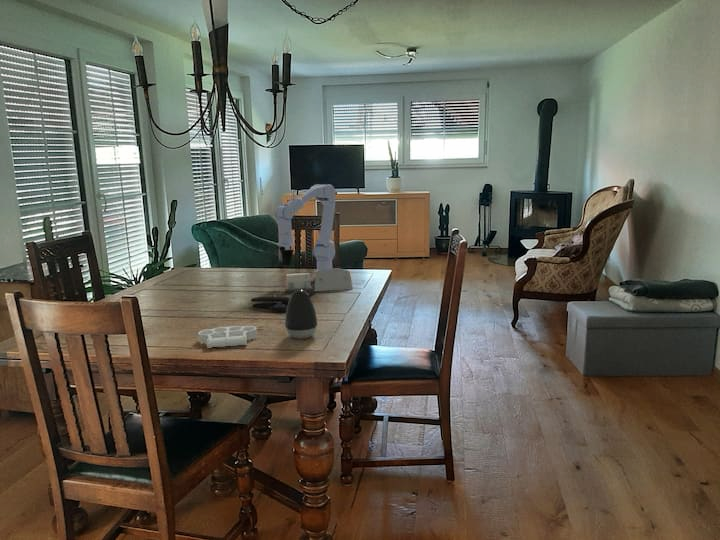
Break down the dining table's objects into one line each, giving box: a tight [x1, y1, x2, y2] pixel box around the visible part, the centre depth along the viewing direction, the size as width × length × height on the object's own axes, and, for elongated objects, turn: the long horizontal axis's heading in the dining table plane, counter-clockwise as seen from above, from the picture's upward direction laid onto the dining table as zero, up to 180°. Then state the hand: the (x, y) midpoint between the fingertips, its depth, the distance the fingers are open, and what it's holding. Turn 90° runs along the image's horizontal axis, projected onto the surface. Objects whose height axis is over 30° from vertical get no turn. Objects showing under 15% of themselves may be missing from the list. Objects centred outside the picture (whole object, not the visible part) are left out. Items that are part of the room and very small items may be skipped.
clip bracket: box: [285, 280, 314, 294], centre depth 236 cm, size 7×11×4 cm, turn 103°
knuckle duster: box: [197, 325, 258, 349], centre depth 170 cm, size 3×18×15 cm
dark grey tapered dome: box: [284, 290, 318, 340], centre depth 172 cm, size 10×10×15 cm
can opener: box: [250, 294, 290, 313], centre depth 207 cm, size 18×7×6 cm, turn 62°
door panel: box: [285, 272, 312, 289], centre depth 236 cm, size 3×10×6 cm, turn 103°
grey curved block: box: [313, 267, 353, 292], centre depth 238 cm, size 17×5×10 cm, turn 95°
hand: (286, 263), depth 242 cm, fingers open, 7 cm apart
